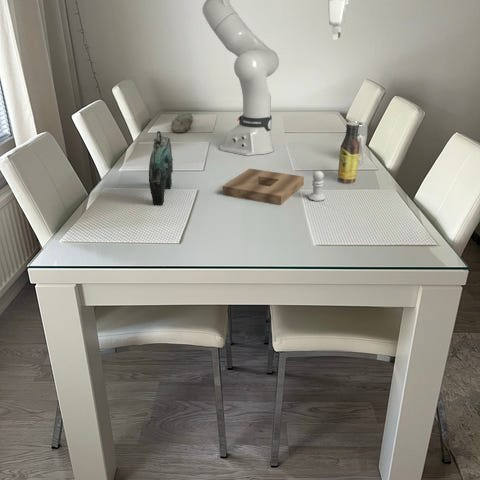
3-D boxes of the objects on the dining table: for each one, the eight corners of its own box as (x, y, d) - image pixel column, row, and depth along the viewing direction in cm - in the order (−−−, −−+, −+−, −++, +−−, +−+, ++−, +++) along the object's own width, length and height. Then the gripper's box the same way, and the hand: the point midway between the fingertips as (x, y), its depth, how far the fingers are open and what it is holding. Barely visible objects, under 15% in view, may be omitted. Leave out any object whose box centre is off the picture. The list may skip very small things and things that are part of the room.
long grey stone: (196, 120, 262) (177, 121, 262) (195, 110, 260) (176, 111, 260) (190, 133, 229) (169, 134, 229) (189, 121, 227) (167, 122, 227)
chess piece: (323, 202, 151) (325, 174, 147) (306, 200, 153) (308, 172, 149) (326, 196, 156) (329, 169, 152) (310, 194, 157) (311, 167, 153)
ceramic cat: (159, 184, 167) (154, 125, 158) (178, 184, 167) (174, 125, 158) (147, 206, 149) (141, 141, 140) (168, 206, 149) (164, 141, 140)
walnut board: (222, 195, 157) (222, 186, 156) (249, 176, 173) (249, 168, 172) (280, 205, 149) (281, 195, 148) (303, 185, 165) (303, 176, 164)
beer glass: (364, 166, 184) (368, 125, 177) (345, 165, 185) (348, 125, 179) (363, 160, 190) (368, 121, 183) (345, 159, 191) (349, 120, 185)
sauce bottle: (335, 178, 171) (340, 120, 163) (352, 177, 172) (358, 120, 163) (340, 184, 165) (345, 125, 157) (358, 184, 166) (364, 124, 157)
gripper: (332, -7, 170) (329, 36, 176) (326, -8, 152) (323, 40, 158) (351, -7, 169) (347, 36, 175) (347, -8, 151) (343, 41, 157)
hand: (336, 38), depth 166 cm, fingers open, 8 cm apart
